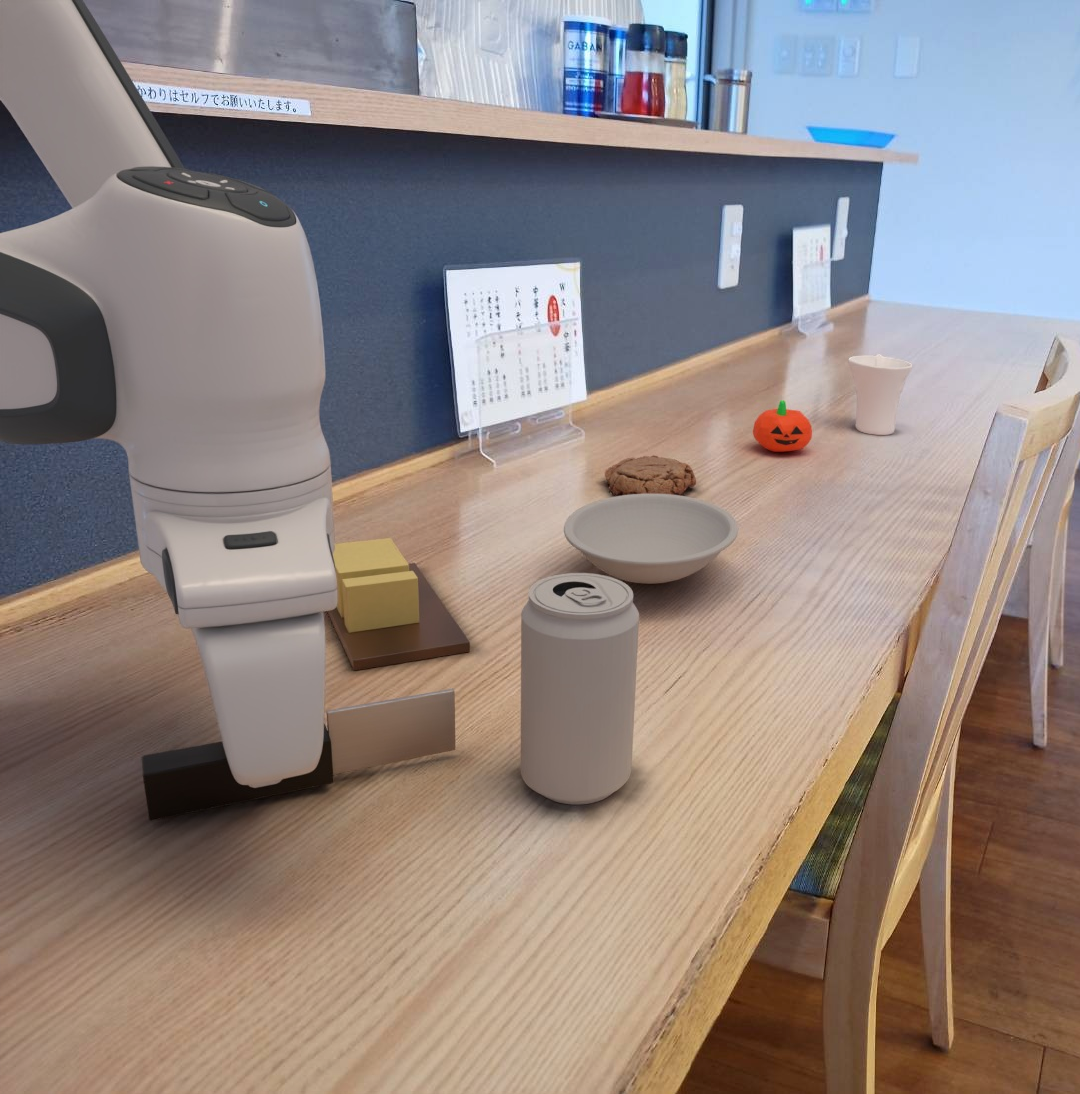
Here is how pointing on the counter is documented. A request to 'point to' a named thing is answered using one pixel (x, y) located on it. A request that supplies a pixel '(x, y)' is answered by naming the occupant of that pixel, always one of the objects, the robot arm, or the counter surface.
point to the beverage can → (578, 686)
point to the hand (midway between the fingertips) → (260, 762)
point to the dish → (650, 535)
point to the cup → (878, 391)
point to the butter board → (405, 634)
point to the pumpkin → (782, 429)
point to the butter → (366, 562)
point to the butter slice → (380, 601)
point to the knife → (347, 746)
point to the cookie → (649, 476)
